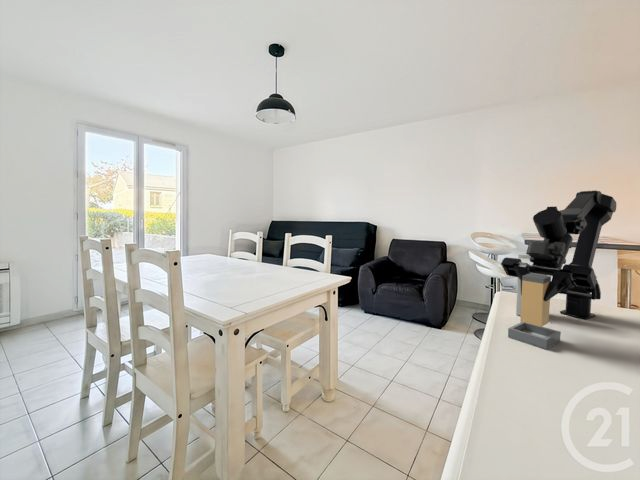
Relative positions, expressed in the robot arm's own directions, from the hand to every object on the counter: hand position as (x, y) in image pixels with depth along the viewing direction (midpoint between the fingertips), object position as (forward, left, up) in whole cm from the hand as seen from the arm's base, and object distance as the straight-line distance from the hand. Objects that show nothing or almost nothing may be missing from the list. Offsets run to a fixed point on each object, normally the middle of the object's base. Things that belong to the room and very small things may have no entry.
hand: (533, 297), depth 69 cm
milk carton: (-19, -11, -11) cm, 25 cm away
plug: (-1, 0, -7) cm, 7 cm away
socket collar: (-1, 0, -11) cm, 11 cm away
